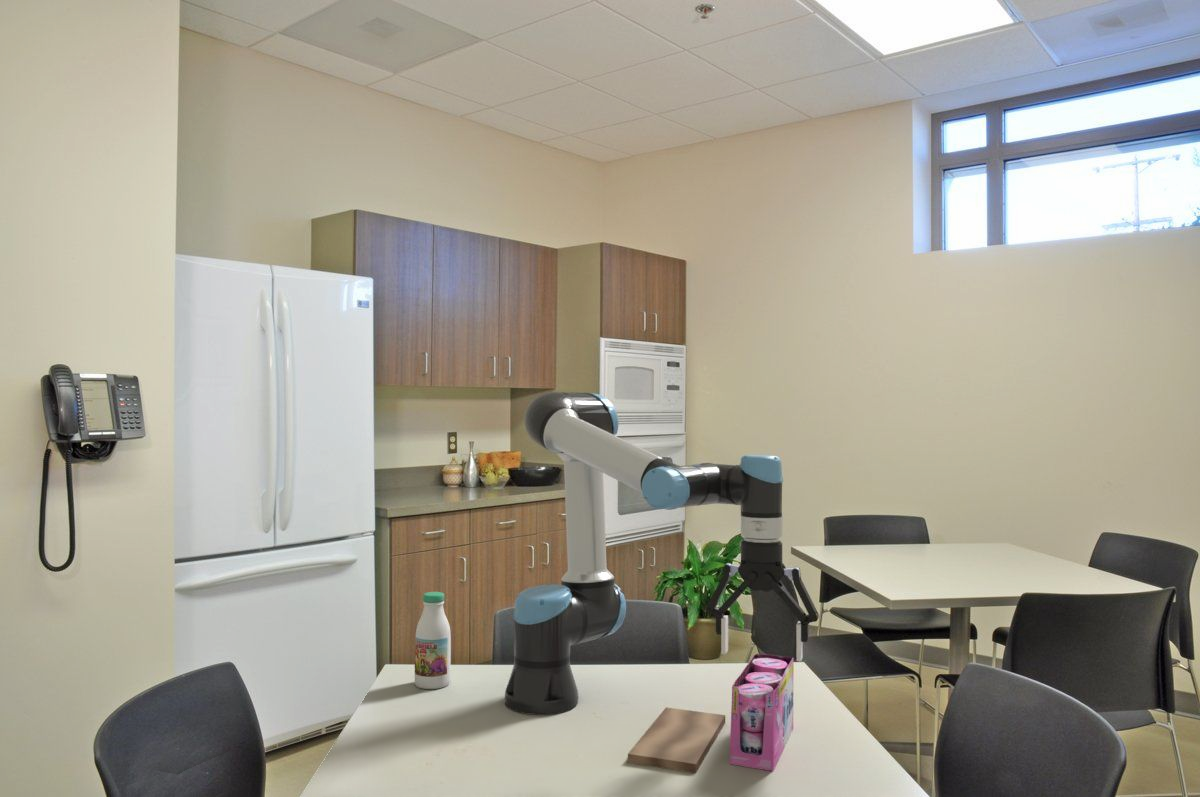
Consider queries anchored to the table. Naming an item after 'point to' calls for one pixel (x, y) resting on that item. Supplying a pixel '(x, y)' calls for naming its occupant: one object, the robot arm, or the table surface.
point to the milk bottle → (432, 644)
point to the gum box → (762, 711)
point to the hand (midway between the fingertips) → (761, 656)
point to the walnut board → (677, 740)
